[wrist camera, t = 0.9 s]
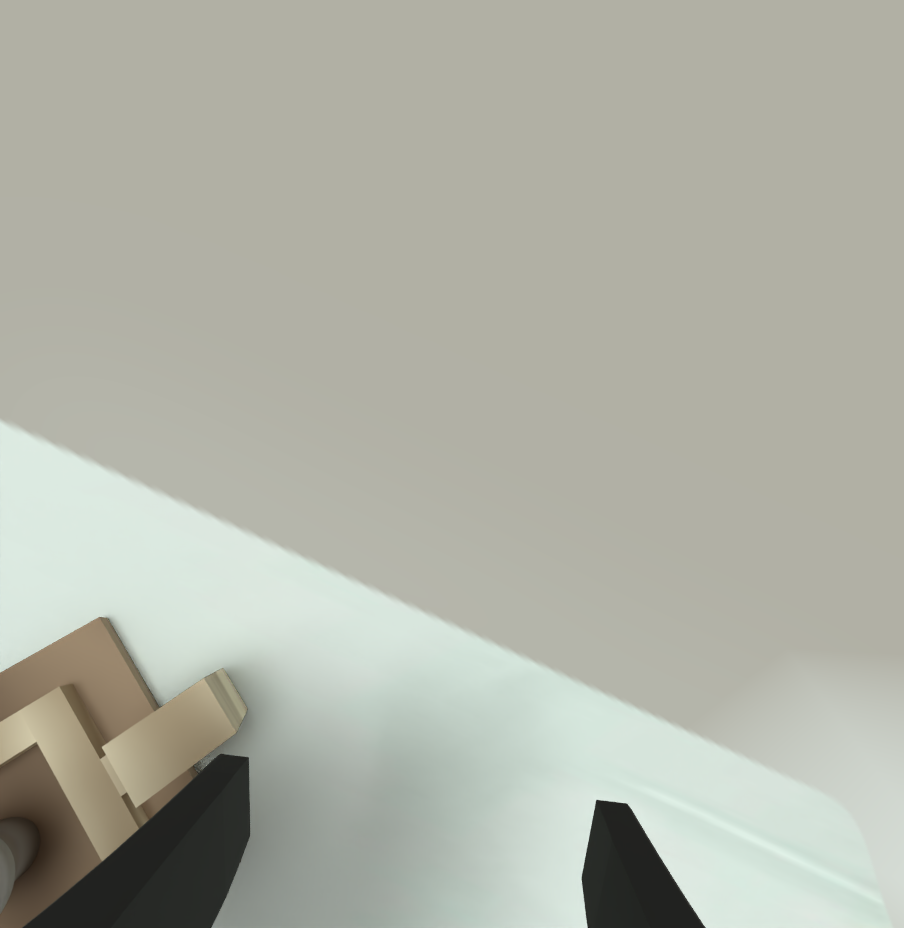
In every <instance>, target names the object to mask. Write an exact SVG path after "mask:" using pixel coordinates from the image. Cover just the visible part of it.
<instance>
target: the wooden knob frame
mask: <svg viewBox="0 0 904 928" xmlns="http://www.w3.org/2000/svg"><path fill="white" fill-rule="evenodd" d="M247 710H248V709H247V707H246V705H245V704H244V702H243V700H242V699H241V697H240V695H239V694H238V692H237V690H236V689H235V687H234V685H233V684H232V682H231V680H230V679H229V677H228V675H227V674H226V672H225V670H224V669H223V668H222V669H220V670H218V671H216V672H214V673H212V674H210V675H209V676H207V677H205V678H203V679H202V680H200V681H199V682H197V683H196V684H194V685H193V686H191V687H190V688H188V689H187V690H185V691H184V692H182V693H181V694H179V695H178V696H176V697H175V698H174V699H172V700H171V701H169V702H168V703H166V704H165V705H163V706H162V707H160V708H159V709H157V710H156V711H154V712H153V713H151V714H150V715H148V716H147V717H145V718H144V719H142V720H141V721H139V722H138V723H136V724H135V725H134V726H132V727H131V728H129V729H128V730H126V731H125V732H123V733H122V734H120V735H119V736H117V737H116V738H114V739H113V740H111V741H110V742H108V743H107V744H106V742H105V741H104V739H103V737H102V735H101V734H100V732H99V730H98V728H97V727H96V725H95V723H94V721H93V719H92V718H91V716H90V714H89V712H88V711H87V709H86V707H85V705H84V703H83V702H82V700H81V698H80V696H79V695H78V693H77V691H76V689H75V687H74V686H73V684H68V685H64V686H59V687H58V688H56V689H54V690H53V691H51V692H49V693H48V694H46V695H44V696H43V697H41V698H39V699H38V700H36V701H34V702H33V703H31V704H29V705H28V706H26V707H24V708H23V709H21V710H19V711H18V712H16V713H14V714H13V715H11V716H9V717H8V718H6V719H4V720H3V721H1V722H0V768H1V767H2V766H4V765H6V764H7V763H9V762H10V761H12V760H13V759H15V758H17V757H18V756H20V755H21V754H23V753H24V752H26V751H28V750H29V749H31V748H32V747H34V746H35V745H37V744H38V746H39V747H40V749H41V751H42V753H43V755H44V757H45V758H46V760H47V762H48V764H49V766H50V767H51V769H52V771H53V773H54V775H55V777H56V778H57V780H58V782H59V784H60V786H61V788H62V789H63V791H64V793H65V795H66V797H67V799H68V800H69V802H70V804H71V806H72V808H73V809H74V811H75V813H76V815H77V817H78V819H79V820H80V822H81V824H82V826H83V828H84V830H85V831H86V833H87V835H88V837H89V839H90V840H91V842H92V844H93V846H94V848H95V850H96V851H97V853H98V855H99V857H100V859H101V861H103V860H104V859H106V858H107V857H108V856H109V855H110V854H111V853H112V852H114V851H115V850H116V849H117V848H118V847H119V846H120V845H121V844H122V843H124V842H125V841H126V840H127V839H128V838H129V837H130V836H131V835H133V834H134V833H135V832H136V831H137V830H138V829H139V828H140V827H141V826H143V825H144V824H145V823H146V822H147V821H148V820H149V819H148V817H147V815H146V813H145V812H144V810H143V808H142V806H141V804H142V803H144V802H145V801H146V800H148V799H149V798H150V797H152V796H153V795H154V794H156V793H157V792H158V791H160V790H161V789H162V788H164V787H165V786H166V785H168V784H169V783H170V782H172V781H173V780H174V779H176V778H177V777H178V776H180V775H181V774H182V773H184V772H185V771H186V770H188V769H189V768H190V767H192V766H193V765H194V764H196V763H197V762H198V761H200V760H201V759H202V758H204V757H205V756H206V755H208V754H209V753H210V752H212V751H213V750H214V749H216V748H217V747H218V746H220V745H221V744H222V743H224V742H225V741H226V740H228V739H229V738H230V737H232V736H233V735H234V734H236V733H237V731H238V729H239V727H240V724H241V722H242V720H243V718H244V716H245V714H246V712H247Z"/></svg>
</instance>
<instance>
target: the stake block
mask: <svg viewBox="0 0 904 928" xmlns="http://www.w3.org/2000/svg"><path fill="white" fill-rule="evenodd" d="M68 684H73V686H74V687H75V689H76V691H77V693H78V695H79V696H80V698H81V700H82V702H83V703H84V705H85V707H86V709H87V711H88V712H89V714H90V716H91V718H92V719H93V721H94V723H95V725H96V727H97V728H98V730H99V732H100V734H101V735H102V737H103V739H104V741H105V742H106V744H107V743H108V742H110V741H111V740H113V739H114V738H116V737H117V736H119V735H120V734H122V733H123V732H125V731H126V730H128V729H129V728H131V727H132V726H134V725H135V724H136V723H138V722H139V721H141V720H142V719H144V718H145V717H147V716H148V715H150V714H151V713H153V712H154V711H156V710H157V709H159V706H158V704H157V702H156V701H155V699H154V697H153V696H152V694H151V692H150V690H149V689H148V687H147V685H146V684H145V682H144V680H143V678H142V677H141V675H140V673H139V671H138V670H137V668H136V666H135V665H134V663H133V661H132V659H131V658H130V656H129V654H128V653H127V651H126V649H125V647H124V646H123V644H122V642H121V640H120V639H119V637H118V635H117V634H116V632H115V630H114V628H113V627H112V625H111V623H110V622H109V620H108V618H104V617H98V618H97V619H95V620H93V621H91V622H90V623H88V624H86V625H84V626H83V627H81V628H79V629H77V630H75V631H74V632H72V633H70V634H68V635H67V636H65V637H63V638H61V639H59V640H58V641H56V642H54V643H52V644H51V645H49V646H47V647H45V648H44V649H42V650H40V651H38V652H36V653H35V654H33V655H31V656H29V657H28V658H26V659H24V660H22V661H20V662H19V663H17V664H15V665H13V666H12V667H10V668H8V669H6V670H4V671H3V672H1V673H0V722H1V721H3V720H4V719H6V718H8V717H9V716H11V715H13V714H14V713H16V712H18V711H19V710H21V709H23V708H24V707H26V706H28V705H29V704H31V703H33V702H34V701H36V700H38V699H39V698H41V697H43V696H44V695H46V694H48V693H49V692H51V691H53V690H54V689H56V688H58V687H59V686H64V685H68ZM197 775H198V773H197V771H196V770H195V768H194V766H192V767H190V768H189V769H188V770H186V771H185V772H184V773H182V774H181V775H180V776H178V777H177V778H176V779H174V780H173V781H172V782H170V783H169V784H168V785H166V786H165V787H164V788H162V789H161V790H160V791H158V792H157V793H156V794H154V795H153V796H152V797H150V798H149V799H148V800H146V801H145V802H144V803H142V804H141V806H142V808H143V810H144V812H145V813H146V815H147V817H148V819H150V818H152V817H153V816H154V815H155V814H156V813H157V812H158V811H159V810H160V809H161V808H162V807H163V806H164V805H166V804H167V803H168V802H169V801H170V800H171V799H172V798H173V797H174V796H175V795H176V794H177V793H178V792H180V791H181V790H182V789H183V788H184V787H185V786H186V785H187V784H188V783H189V782H190V781H191V780H192V779H193V778H194V777H195V776H197ZM101 862H102V861H101V859H100V857H99V855H98V853H97V851H96V850H95V848H94V846H93V844H92V842H91V840H90V839H89V837H88V835H87V833H86V831H85V830H84V828H83V826H82V824H81V822H80V820H79V819H78V817H77V815H76V813H75V811H74V809H73V808H72V806H71V804H70V802H69V800H68V799H67V797H66V795H65V793H64V791H63V789H62V788H61V786H60V784H59V782H58V780H57V778H56V777H55V775H54V773H53V771H52V769H51V767H50V766H49V764H48V762H47V760H46V758H45V757H44V755H43V753H42V751H41V749H40V747H39V746H38V744H37V745H35V746H34V747H32V748H31V749H29V750H28V751H26V752H24V753H23V754H21V755H20V756H18V757H17V758H15V759H13V760H12V761H10V762H9V763H7V764H6V765H4V766H2V767H1V768H0V928H22V927H23V926H25V925H26V924H27V923H28V922H30V921H31V920H32V919H33V918H35V917H36V916H37V915H38V914H40V913H41V912H42V911H43V910H45V909H46V908H47V907H48V906H50V905H51V904H52V903H53V902H54V901H56V900H57V899H58V898H59V897H60V896H62V895H63V894H64V893H65V892H66V891H68V890H69V889H70V888H71V887H72V886H74V885H75V884H76V883H77V882H78V881H79V880H81V879H82V878H83V877H84V876H85V875H87V874H88V873H89V872H90V871H91V870H93V869H94V868H95V867H96V866H97V865H99V864H100V863H101ZM240 862H241V861H240Z"/></svg>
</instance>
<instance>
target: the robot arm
mask: <svg viewBox="0 0 904 928" xmlns="http://www.w3.org/2000/svg"><path fill="white" fill-rule="evenodd" d="M249 837H250V801H249V757H241V756H233V755H224V754H220V755H218V756H217V757H216V758H215V759H214V760H212V761H211V762H210V763H209V764H208V765H207V766H206V767H205V768H204V769H203V770H202V771H201V772H200V773H199V774H198V775H197V776H195V777H194V778H193V779H192V780H191V781H190V782H189V783H188V784H187V785H186V786H185V787H184V788H183V789H182V790H181V791H180V792H178V793H177V794H176V795H175V796H174V797H173V798H172V799H171V800H170V801H169V802H168V803H167V804H166V805H164V806H163V807H162V808H161V809H160V810H159V811H158V812H157V813H156V814H155V815H154V816H153V817H152V818H150V819H149V820H148V821H147V822H146V823H145V824H144V825H143V826H141V827H140V828H139V829H138V830H137V831H136V832H135V833H134V834H133V835H131V836H130V837H129V838H128V839H127V840H126V841H125V842H124V843H122V844H121V845H120V846H119V847H118V848H117V849H116V850H115V851H114V852H112V853H111V854H110V855H109V856H108V857H107V858H106V859H104V860H103V861H102V862H101V863H100V864H99V865H97V866H96V867H95V868H94V869H93V870H91V871H90V872H89V873H88V874H87V875H85V876H84V877H83V878H82V879H81V880H79V881H78V882H77V883H76V884H75V885H74V886H72V887H71V888H70V889H69V890H68V891H66V892H65V893H64V894H63V895H62V896H60V897H59V898H58V899H57V900H56V901H54V902H53V903H52V904H51V905H50V906H48V907H47V908H46V909H45V910H43V911H42V912H41V913H40V914H38V915H37V916H36V917H35V918H33V919H32V920H31V921H30V922H28V923H27V924H26V925H25V926H23V927H22V928H211V927H212V925H213V923H214V921H215V919H216V917H217V915H218V913H219V911H220V909H221V906H222V904H223V902H224V900H225V898H226V896H227V893H228V891H229V888H230V886H231V883H232V881H233V878H234V876H235V873H236V871H237V868H238V866H239V863H240V861H241V858H242V855H243V853H244V850H245V847H246V845H247V842H248V840H249ZM582 885H583V894H584V902H585V910H586V918H587V925H588V928H705V926H704V925H703V923H702V922H701V920H700V919H699V917H698V916H697V914H696V913H695V911H694V910H693V908H692V907H691V905H690V904H689V902H688V901H687V899H686V898H685V896H684V894H683V893H682V891H681V890H680V888H679V887H678V885H677V883H676V882H675V880H674V879H673V877H672V875H671V874H670V872H669V871H668V869H667V867H666V866H665V864H664V863H663V861H662V859H661V858H660V856H659V855H658V853H657V851H656V850H655V848H654V846H653V845H652V843H651V841H650V840H649V838H648V836H647V835H646V833H645V831H644V830H643V828H642V826H641V825H640V823H639V821H638V820H637V818H636V816H635V815H634V813H633V811H632V809H631V808H630V807H629V806H628V804H626V803H617V802H609V801H601V800H596V805H595V810H594V816H593V821H592V826H591V831H590V837H589V842H588V847H587V852H586V858H585V863H584V868H583V873H582Z"/></svg>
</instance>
